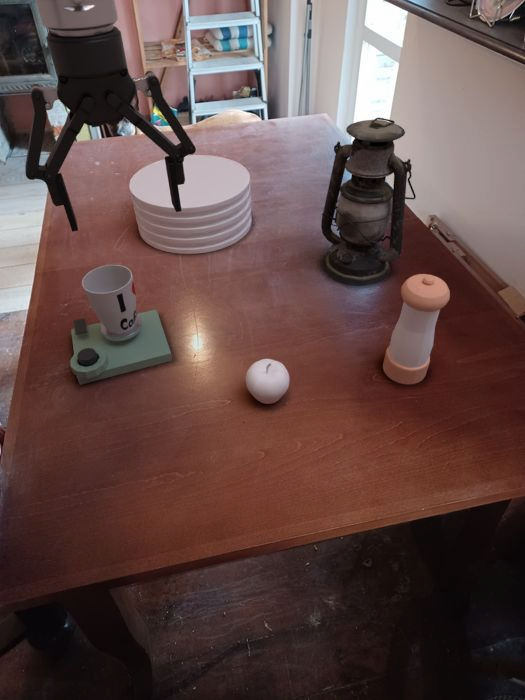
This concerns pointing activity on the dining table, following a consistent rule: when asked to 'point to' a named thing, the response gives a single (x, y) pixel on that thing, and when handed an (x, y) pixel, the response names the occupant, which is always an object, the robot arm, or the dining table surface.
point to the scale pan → (81, 328)
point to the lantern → (365, 204)
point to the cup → (112, 297)
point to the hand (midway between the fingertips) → (126, 216)
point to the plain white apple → (267, 380)
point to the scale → (121, 350)
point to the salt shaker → (415, 328)
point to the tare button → (87, 357)
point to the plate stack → (193, 205)
